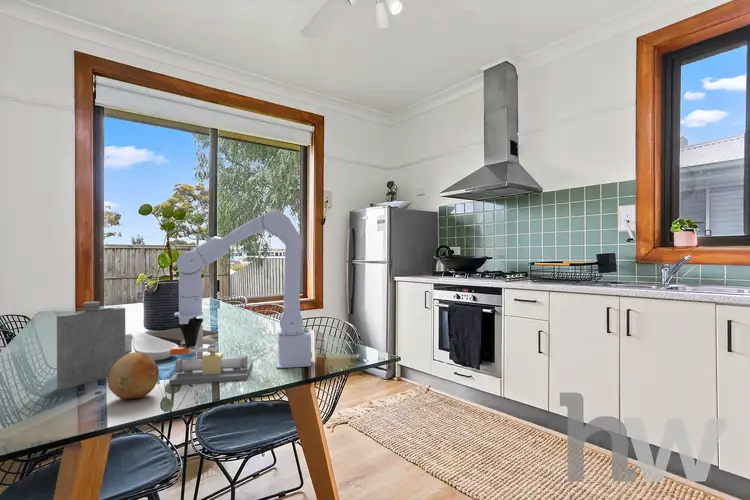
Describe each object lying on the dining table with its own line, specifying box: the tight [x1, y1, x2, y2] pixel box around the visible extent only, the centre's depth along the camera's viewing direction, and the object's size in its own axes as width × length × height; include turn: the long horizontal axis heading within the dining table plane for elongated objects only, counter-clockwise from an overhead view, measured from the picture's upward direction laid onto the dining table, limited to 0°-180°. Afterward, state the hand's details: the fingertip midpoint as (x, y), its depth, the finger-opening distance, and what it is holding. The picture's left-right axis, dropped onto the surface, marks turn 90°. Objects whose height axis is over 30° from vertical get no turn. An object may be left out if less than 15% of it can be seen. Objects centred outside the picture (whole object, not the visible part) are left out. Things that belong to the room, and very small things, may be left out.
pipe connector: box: [183, 324, 217, 359], centre depth 124 cm, size 10×10×10 cm
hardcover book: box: [145, 327, 220, 346], centre depth 154 cm, size 16×23×2 cm
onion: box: [107, 352, 160, 400], centre depth 89 cm, size 10×10×10 cm
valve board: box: [169, 352, 254, 386], centre depth 107 cm, size 18×14×6 cm
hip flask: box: [56, 301, 127, 391], centre depth 103 cm, size 16×4×20 cm, turn 154°
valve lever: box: [170, 344, 219, 356], centre depth 104 cm, size 11×2×2 cm, turn 101°
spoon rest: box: [125, 331, 179, 362], centre depth 126 cm, size 24×12×7 cm, turn 62°
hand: (191, 346), depth 109 cm, fingers closed
